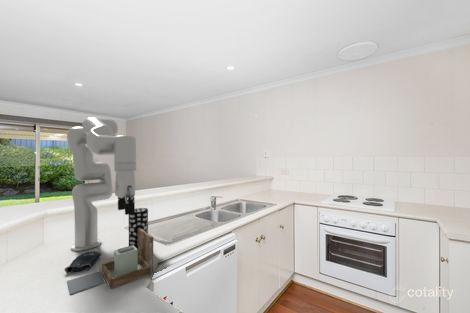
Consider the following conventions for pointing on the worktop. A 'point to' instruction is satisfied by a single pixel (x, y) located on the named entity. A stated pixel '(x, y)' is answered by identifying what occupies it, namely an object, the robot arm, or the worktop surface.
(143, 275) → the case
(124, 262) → the module
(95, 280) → the mat
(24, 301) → the worktop surface
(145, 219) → the white-spotted black cylinder
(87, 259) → the dark blue pouch
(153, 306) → the worktop surface
